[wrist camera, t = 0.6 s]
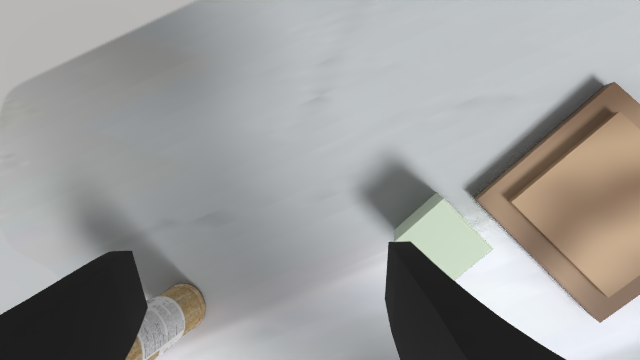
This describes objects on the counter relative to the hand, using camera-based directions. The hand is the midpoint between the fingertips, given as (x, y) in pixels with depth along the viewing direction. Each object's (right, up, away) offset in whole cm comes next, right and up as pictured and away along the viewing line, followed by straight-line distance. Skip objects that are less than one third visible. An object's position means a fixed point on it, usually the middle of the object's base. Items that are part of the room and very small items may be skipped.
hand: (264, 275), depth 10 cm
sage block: (+11, -1, +18) cm, 22 cm away
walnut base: (+22, +1, +16) cm, 27 cm away
